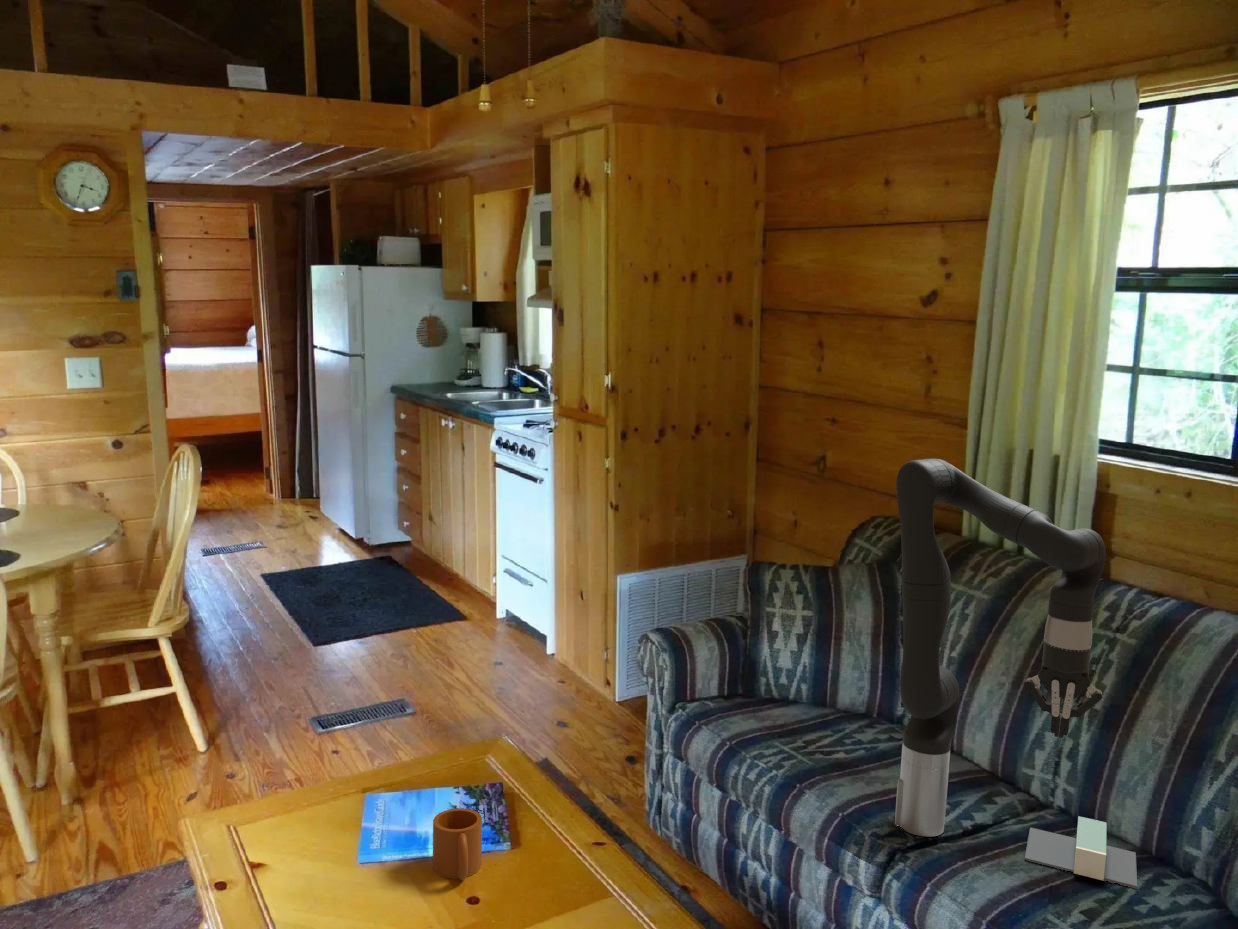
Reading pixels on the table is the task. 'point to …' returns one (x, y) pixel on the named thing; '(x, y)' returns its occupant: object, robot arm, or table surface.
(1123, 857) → the mat
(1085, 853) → the tall block
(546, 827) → the table surface
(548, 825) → the table surface
